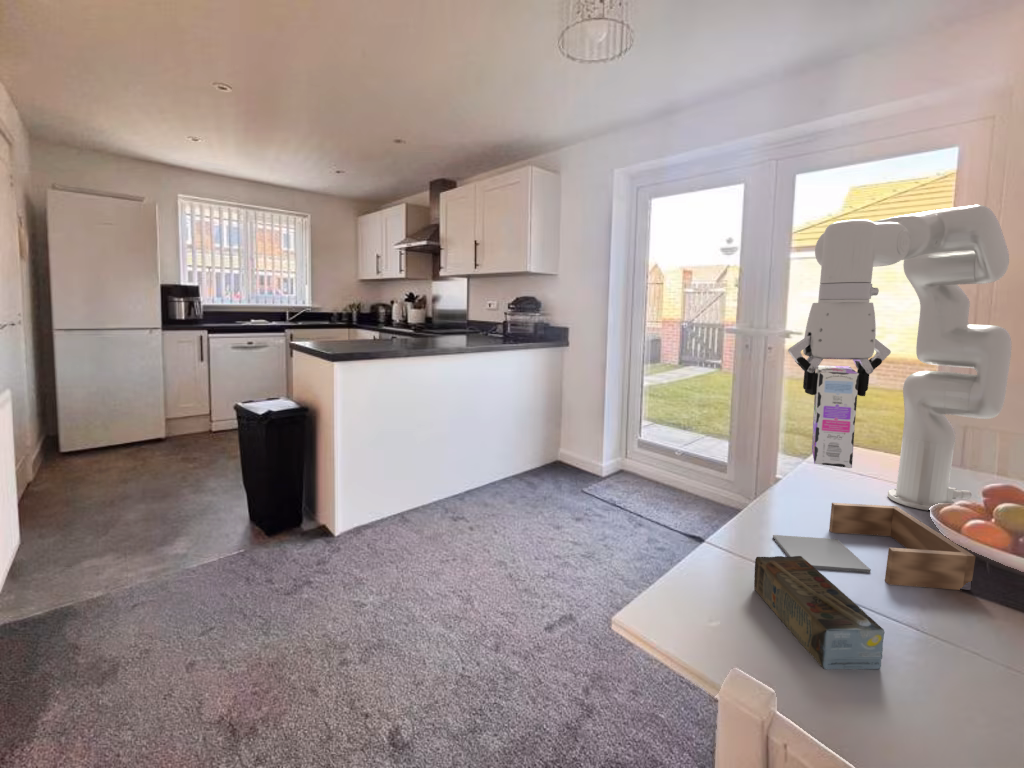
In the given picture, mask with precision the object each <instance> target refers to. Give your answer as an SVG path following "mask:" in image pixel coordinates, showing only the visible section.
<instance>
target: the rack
mask: <svg viewBox="0 0 1024 768" xmlns="http://www.w3.org/2000/svg"><path fill="white" fill-rule="evenodd" d="M830 507H831V510H830V515H829V516H830V517H829V525H828V527H829V528H828V530H829V532H831V533H834V534H835V533H836V534H849V535H852V534H853V535H864V536H865V535H867V536H881V537H891V538H892V539H894V540H895V541H896V542H897V543H899V544H900V545H901V546H902V547H904V548H901V547H888V549H887V550H888V551H887V560H886V566H885V575H884V581H885V583H887V584H888V585H890V586H906V587H917V588H931V589H943V590H957V591H961V590H960V588H962V587H963V586H964V585H965V584H966V583H968V582H971V581H972V582H973V578H974V577H973V576H974V570H975V564H976V563H975V562H976V556H975V555H974V554H973V553H971V552H969V551H968V550H966V549H965V548H963V547H962V546H960V545H958V544H957V543H956V542H954V541H953V540H950V539H949V538H947V537H946V536H944V535H943V534H941V533H939V532H938V531H936V530H935V529H933V528H932V527H930V526H928V525H927V524H925V523H924V522H922V521H921V520H919V519H917V518H916V517H914V516H913V515H911V514H909V513H908V512H906V511H904V510H903V509H902V508H900V507H898V506H895V505H883V504H882V505H878V504H863V503H845V502H844V503H843V502H842V503H841V502H831V506H830Z"/></svg>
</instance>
